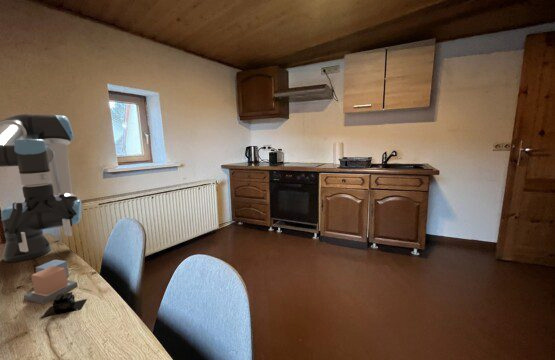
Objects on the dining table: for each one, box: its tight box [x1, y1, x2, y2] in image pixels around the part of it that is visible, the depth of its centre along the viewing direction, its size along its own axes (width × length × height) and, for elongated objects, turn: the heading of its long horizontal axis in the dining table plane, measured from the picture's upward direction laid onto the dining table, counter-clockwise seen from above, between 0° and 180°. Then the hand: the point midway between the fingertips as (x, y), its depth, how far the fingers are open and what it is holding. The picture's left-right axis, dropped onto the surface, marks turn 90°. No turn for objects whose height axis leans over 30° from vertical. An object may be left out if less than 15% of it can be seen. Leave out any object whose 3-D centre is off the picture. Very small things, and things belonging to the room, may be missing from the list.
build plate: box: [40, 291, 88, 319], centre depth 74 cm, size 12×7×5 cm, turn 111°
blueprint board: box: [23, 279, 79, 305], centre depth 82 cm, size 10×9×2 cm
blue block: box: [35, 259, 70, 278], centre depth 90 cm, size 6×6×6 cm
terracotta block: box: [30, 266, 68, 295], centre depth 81 cm, size 6×6×6 cm
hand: (47, 242), depth 88 cm, fingers open, 13 cm apart
